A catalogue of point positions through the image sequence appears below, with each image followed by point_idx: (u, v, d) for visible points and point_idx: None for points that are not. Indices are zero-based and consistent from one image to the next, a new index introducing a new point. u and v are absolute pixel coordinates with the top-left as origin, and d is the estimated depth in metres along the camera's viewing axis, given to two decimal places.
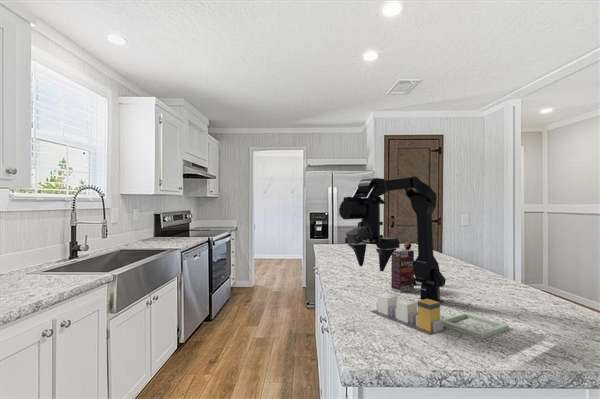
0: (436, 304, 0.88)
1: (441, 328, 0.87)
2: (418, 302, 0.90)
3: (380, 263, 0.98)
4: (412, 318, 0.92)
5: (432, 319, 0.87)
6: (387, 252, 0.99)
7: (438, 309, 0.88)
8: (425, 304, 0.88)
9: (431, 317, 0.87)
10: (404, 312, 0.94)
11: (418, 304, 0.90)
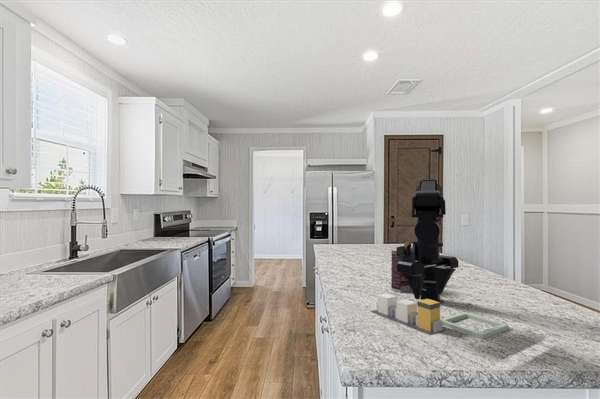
0: (436, 304, 0.88)
1: (441, 328, 0.87)
2: (418, 302, 0.90)
3: None
4: (412, 318, 0.92)
5: (432, 319, 0.87)
6: (416, 278, 0.85)
7: (438, 309, 0.88)
8: (425, 304, 0.88)
9: (431, 317, 0.87)
10: (404, 312, 0.94)
11: (418, 304, 0.90)
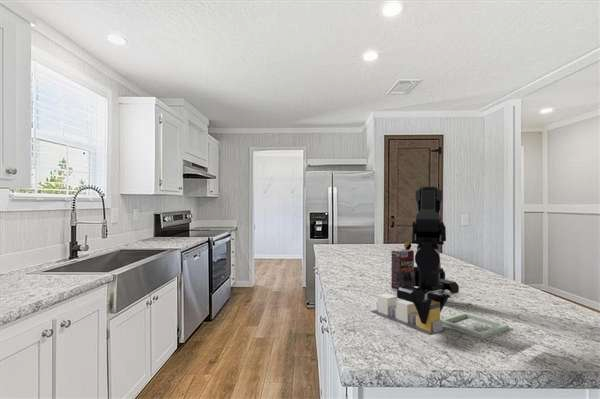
0: (436, 304, 0.88)
1: (441, 328, 0.87)
2: None
3: None
4: (412, 318, 0.92)
5: (432, 319, 0.87)
6: (423, 304, 0.86)
7: (438, 309, 0.88)
8: None
9: (431, 317, 0.87)
10: (404, 312, 0.94)
11: None
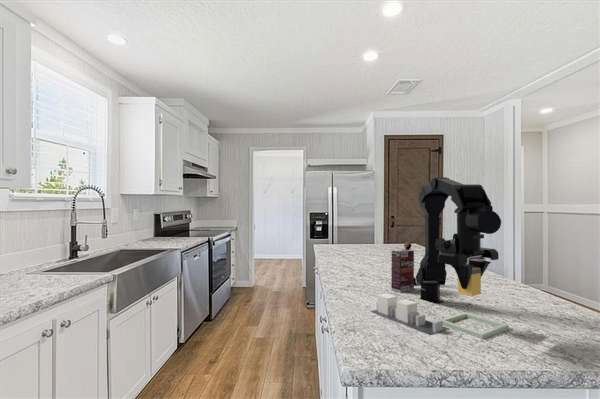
0: (477, 269, 0.89)
1: (441, 328, 0.87)
2: None
3: None
4: (412, 318, 0.92)
5: (473, 284, 0.88)
6: (464, 268, 0.88)
7: (479, 275, 0.89)
8: None
9: (473, 282, 0.88)
10: (404, 312, 0.94)
11: None
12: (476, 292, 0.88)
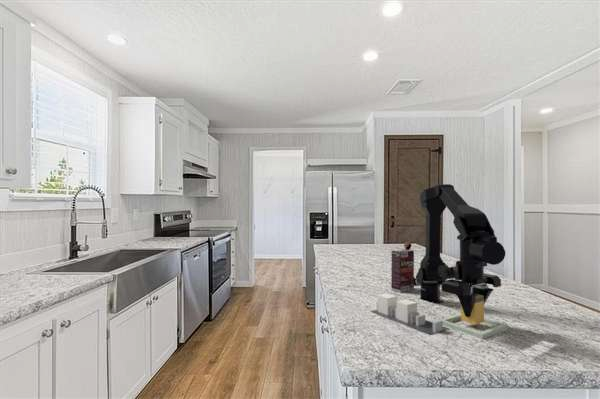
0: (480, 297, 0.89)
1: (441, 328, 0.87)
2: None
3: None
4: (412, 318, 0.92)
5: (477, 312, 0.88)
6: (467, 297, 0.88)
7: (482, 302, 0.89)
8: None
9: (476, 310, 0.88)
10: (404, 312, 0.94)
11: None
12: (479, 320, 0.88)
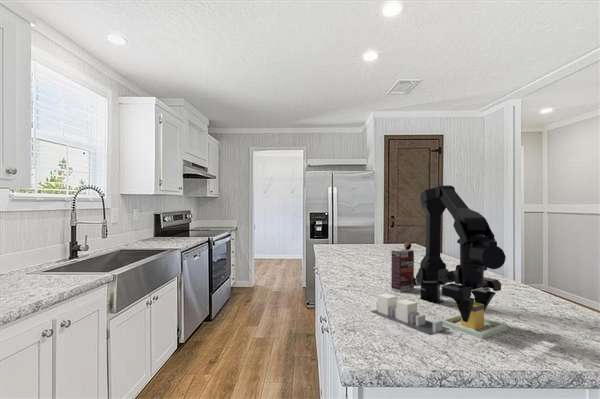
0: (480, 306, 0.89)
1: (441, 328, 0.87)
2: None
3: None
4: (412, 318, 0.92)
5: (477, 321, 0.88)
6: (465, 302, 0.87)
7: (482, 311, 0.89)
8: None
9: (476, 319, 0.88)
10: (404, 312, 0.94)
11: None
12: None
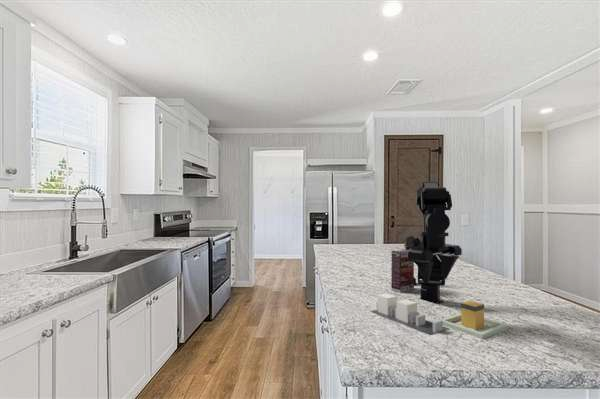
0: (480, 306, 0.89)
1: (441, 328, 0.87)
2: (462, 304, 0.91)
3: None
4: (412, 318, 0.92)
5: (477, 321, 0.88)
6: (425, 265, 0.95)
7: (482, 311, 0.89)
8: (470, 306, 0.89)
9: (476, 319, 0.88)
10: (404, 312, 0.94)
11: (462, 306, 0.91)
12: None
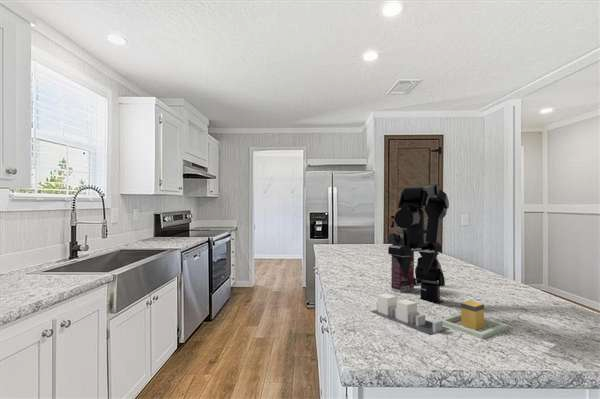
0: (480, 306, 0.89)
1: (441, 328, 0.87)
2: (462, 304, 0.91)
3: None
4: (412, 318, 0.92)
5: (477, 321, 0.88)
6: (404, 259, 1.01)
7: (482, 311, 0.89)
8: (470, 306, 0.89)
9: (476, 319, 0.88)
10: (404, 312, 0.94)
11: (462, 306, 0.91)
12: None
